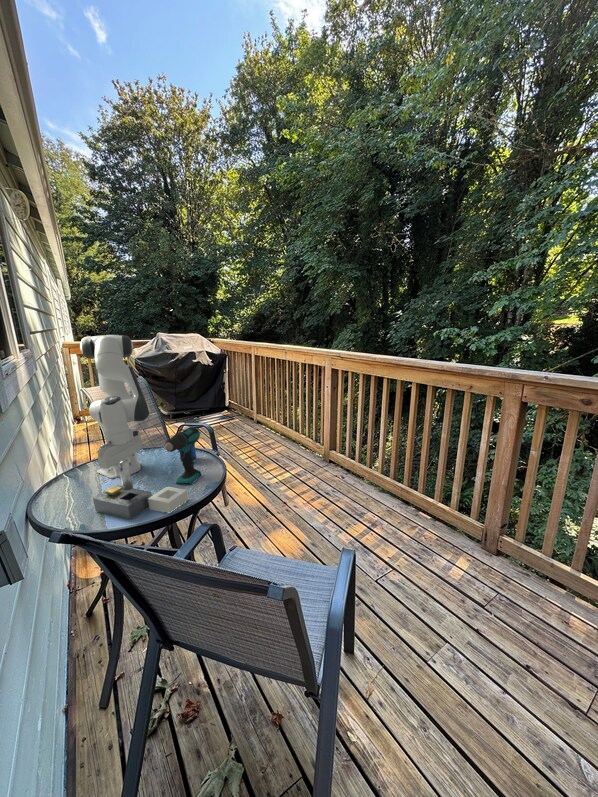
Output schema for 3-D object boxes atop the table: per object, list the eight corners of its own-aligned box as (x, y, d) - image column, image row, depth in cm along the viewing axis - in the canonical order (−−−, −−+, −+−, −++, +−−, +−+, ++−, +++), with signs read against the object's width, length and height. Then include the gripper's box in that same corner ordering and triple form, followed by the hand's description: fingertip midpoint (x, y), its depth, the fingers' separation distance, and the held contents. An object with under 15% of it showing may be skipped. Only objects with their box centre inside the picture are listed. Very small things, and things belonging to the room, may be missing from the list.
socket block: (95, 511, 147) (92, 498, 145) (119, 497, 157) (117, 485, 156) (130, 519, 139) (128, 506, 137) (153, 504, 150) (151, 491, 148)
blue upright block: (195, 463, 189) (191, 436, 186) (179, 465, 189) (175, 437, 185) (198, 457, 198) (194, 430, 194) (183, 458, 197) (179, 432, 193)
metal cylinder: (121, 488, 144) (115, 462, 141) (130, 484, 147) (125, 458, 144) (125, 491, 142) (120, 464, 139) (135, 487, 145) (130, 460, 142)
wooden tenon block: (106, 506, 149) (103, 491, 147) (116, 501, 153) (113, 485, 151) (115, 508, 147) (112, 492, 145) (125, 502, 151) (122, 487, 149)
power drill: (181, 495, 156) (173, 443, 150) (163, 494, 158) (155, 442, 152) (207, 470, 181) (201, 424, 175) (191, 469, 183) (185, 423, 177)
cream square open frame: (149, 509, 146) (147, 498, 145) (168, 496, 156) (167, 486, 154) (170, 513, 142) (168, 502, 140) (188, 500, 151) (186, 490, 150)
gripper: (104, 447, 128) (111, 481, 132) (142, 429, 147) (147, 459, 151) (90, 446, 130) (97, 480, 134) (129, 428, 149) (135, 458, 153)
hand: (124, 469), depth 142 cm, fingers closed on metal cylinder, 4 cm apart
